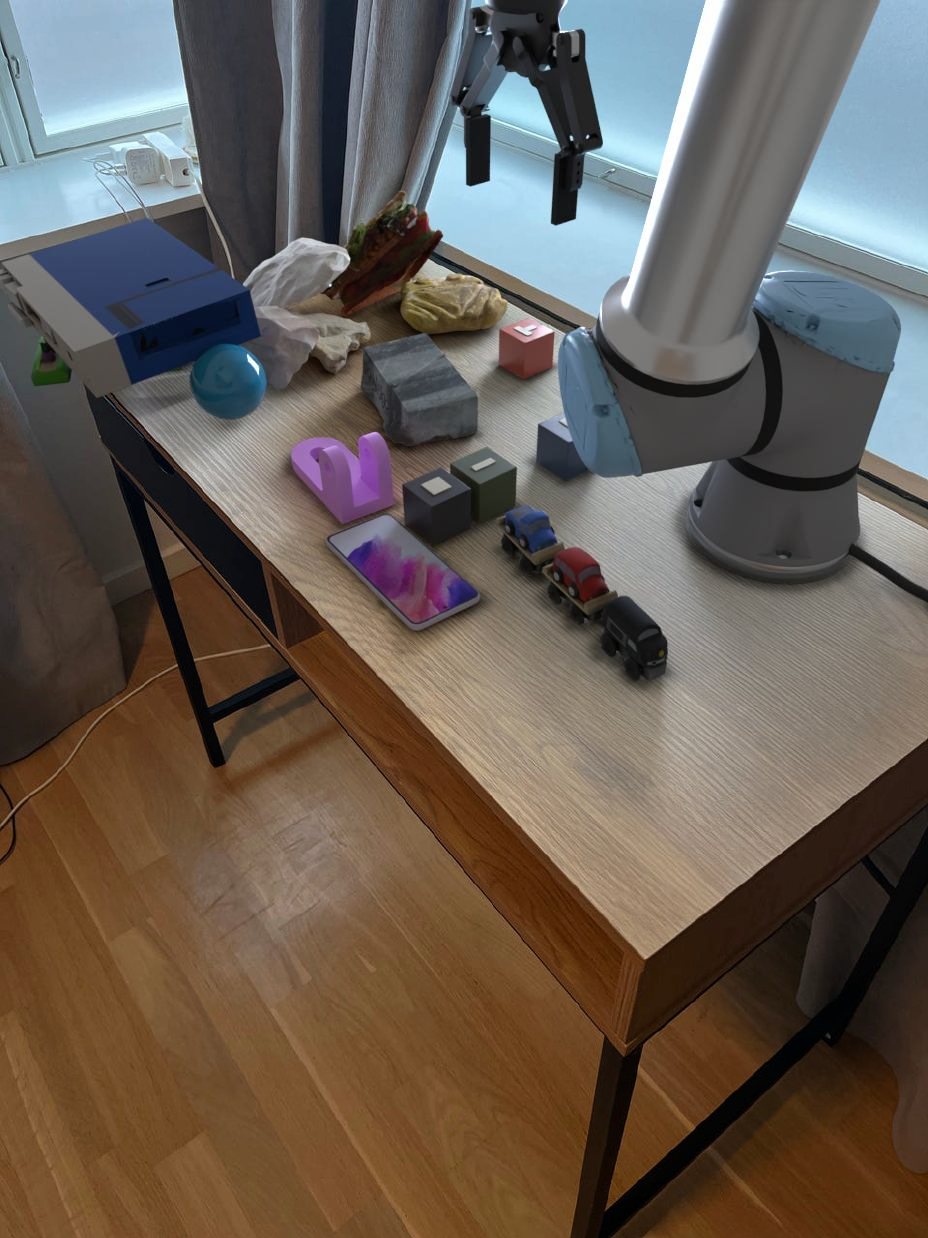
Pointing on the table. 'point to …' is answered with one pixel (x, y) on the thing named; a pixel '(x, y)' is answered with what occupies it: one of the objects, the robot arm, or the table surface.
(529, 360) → the letter block
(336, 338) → the stone
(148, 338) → the electronic device
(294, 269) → the fragment
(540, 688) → the table surface
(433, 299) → the sculpture
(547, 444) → the block
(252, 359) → the ball
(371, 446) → the bracket
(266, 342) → the stone tool
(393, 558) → the smartphone
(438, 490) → the block
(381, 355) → the stone block
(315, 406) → the table surface
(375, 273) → the sandwich
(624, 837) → the table surface
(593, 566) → the toy train
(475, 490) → the block
